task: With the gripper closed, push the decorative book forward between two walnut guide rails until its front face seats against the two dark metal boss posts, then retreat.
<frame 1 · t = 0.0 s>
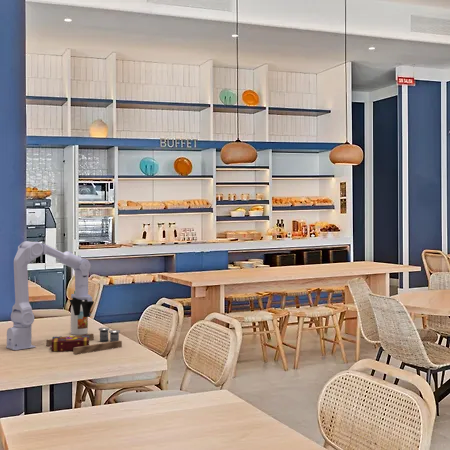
hand: (81, 316, 298), 10 cm above the table, fingers open, 7 cm apart
boss posts: (109, 342, 290), on the table
decorative book: (69, 349, 277), on the table
milk bottle: (79, 334, 311), on the table
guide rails: (83, 346, 282), on the table
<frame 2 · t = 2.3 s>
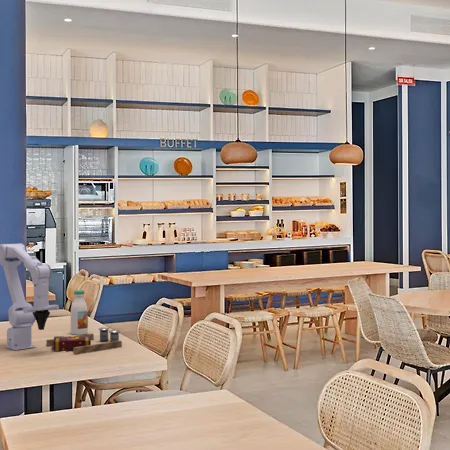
hand: (41, 329, 268), 9 cm above the table, fingers closed
nothing on the table moved.
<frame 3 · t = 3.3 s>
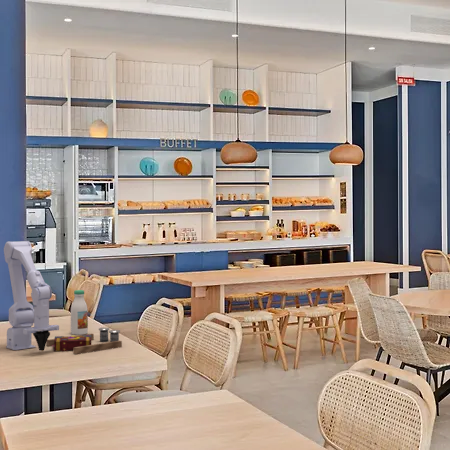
hand: (41, 350, 269), 1 cm above the table, fingers closed
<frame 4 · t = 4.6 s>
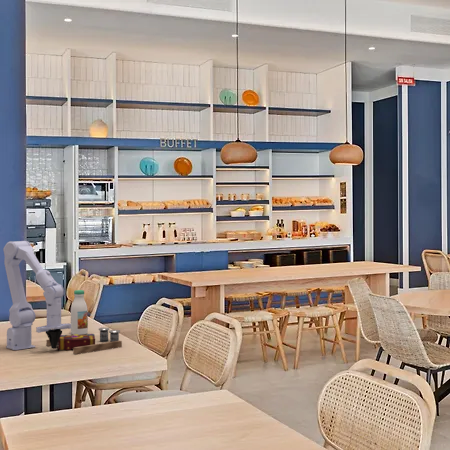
hand: (54, 348, 272), 1 cm above the table, fingers closed
decorative book: (75, 348, 280), on the table, touching gripper
everything else where it was.
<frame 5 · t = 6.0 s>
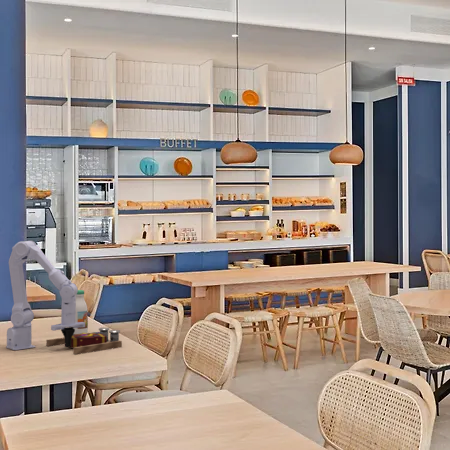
hand: (68, 346, 277), 1 cm above the table, fingers closed, pressing on decorative book
decorative book: (85, 346, 284), on the table, touching boss posts, gripper
everything else where it was.
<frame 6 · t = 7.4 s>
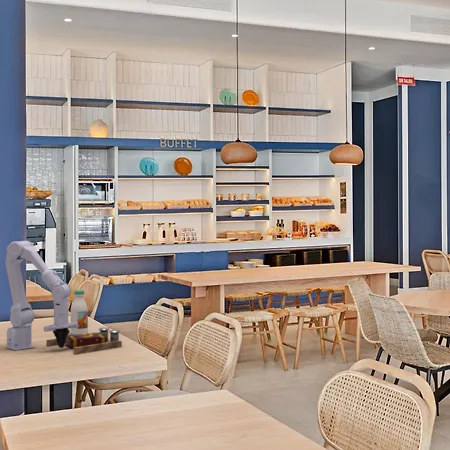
hand: (61, 347, 275), 1 cm above the table, fingers closed
decorative book: (84, 346, 284), on the table
everything else where it was.
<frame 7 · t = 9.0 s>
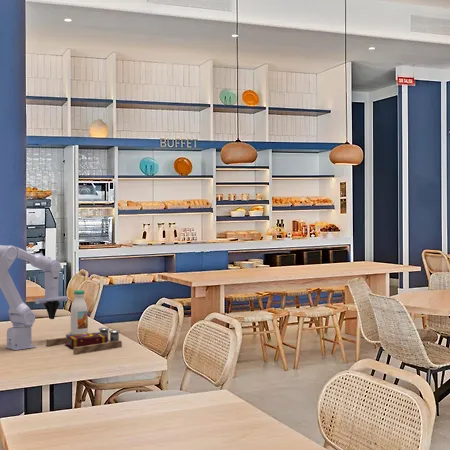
hand: (51, 318, 291), 10 cm above the table, fingers closed
nothing on the table moved.
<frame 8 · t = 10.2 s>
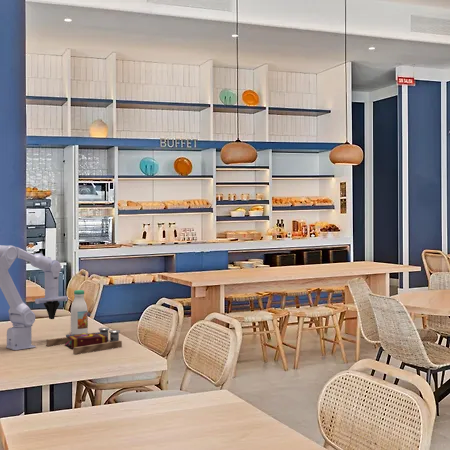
hand: (51, 318, 291), 10 cm above the table, fingers closed
nothing on the table moved.
at the end: decorative book 2.3 cm from the target spot, on the table; decorative book moved 8.3 cm from its start; decorative book 11.3 cm from the boss posts (horizontally) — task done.
